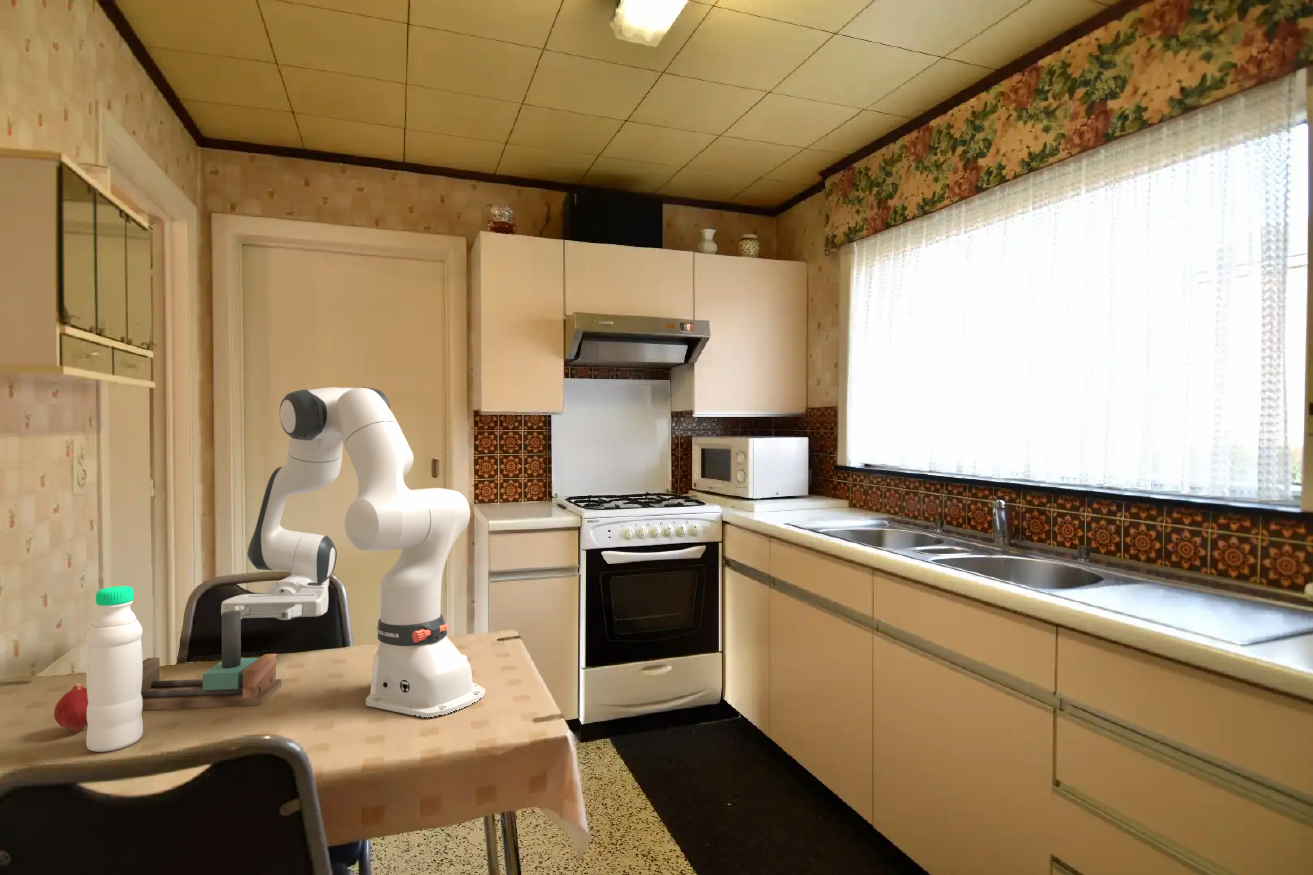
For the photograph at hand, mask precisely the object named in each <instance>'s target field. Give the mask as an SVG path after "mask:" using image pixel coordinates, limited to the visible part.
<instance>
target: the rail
mask: <svg viewBox="0 0 1313 875" xmlns="http://www.w3.org/2000/svg"><path fill="white" fill-rule="evenodd" d="M160 660H161V659H160V657H147V658H145V659H144V660H143V672H142V688H141V695H142V701H143V707H142V711H152V710H155V711H156V710H177V709H178V710H179V709H180V710H182V709H183V710H185V709H203V708H204V709H207V708H227V707H230V708H231V707H252V706H253V707H254V706H261V705H262V704H264V703H265V702H266V701H267V700H268V699H269V698H271V697H272V695H274V693H276V692H278V690H279V689H281V687H282V678H277V664H276V663H277V654H276V653H264V654H263V655H262V656H261V657H258V660H256V661H255V662H254V663H252V664H251V665H250V666H248V667H247V668H246V669H244V670H243V685H242V686H241V687H240V688H238V689H222V690H203V678H201V679H200V678H199V679H196V678H195V679H194V678H193V679H171V680H170V679H169V680H161V679H160V678H161V677H160V676H161V675H160V667H161V666H160V662H161V661H160Z"/></svg>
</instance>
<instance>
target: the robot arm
mask: <svg viewBox="0 0 1313 875" xmlns="http://www.w3.org/2000/svg"><path fill="white" fill-rule="evenodd" d="M279 419H280V424H281V426H282V430H283V431H284V432H285V433H286V434H287V436H289V440H288V447H287V449H288V450H287V457H286V460H285V463H284V464H283V466H280V467H279V466H278V467H277V468H275V470H274V471H273V473H272V474H271V475H270V476H269V479H268V481H267V484H266V488H265V491H264V494H263V498H262V501H261V506H260V509H259V513H258V516H257V522H256V525H255V529H254V531H253V533H252V537H251V538H250V541H249V545H248V549H247V558H248V560H249V562H250V563H251V565H253V567H255V569H257V570H262V571H279V572H286V573H290V575H289V576H287V577H285V578H283V579H280V580H278V581H277V582H275V583H273V584H271V586H269V588H267V590H266V592H265V593H244V594H243V593H242V594H239V595H235V596H233V597H229V598H226V599H225V600H223V601H222V602H221V604H220V605H221V606H220V607H221V608H220V613H221V614H220V615H221V616H222V613H224V612H227V611H236V610H237V611H241V620H243V619H254V618H255V619H258V618H275V619H277V620H280V621H287V620H289V621H290V620H292V619H295V618H300V617H302V618H304V617H305V618H306V617H320V616H323V615H324V614H326V613H327V612H328V610H329V609H328V608H329V586H330V578H331V577H332V575H333V573H334V570H335V567H336V564H337V558H338V556H337V555H338V552H337V548H336V546H335V543H334V542H333V540H332V539H331V538H330V537H329V536H328V535H323V534H317V533H312V532H303V531H296V530H290V529H286V528H284V527H282V525H281V520H282V518H283V513H284V509H285V506H286V502H287V499H288V497H291V496H296V495H301V494H307V493H312V492H316V491H320V490H321V489H324V488H326V487H328V486H330V485H331V484H332V483H334V482H335V481H336V480H337V478H339V475H340V471H341V467H342V462H343V446H344V447H345V450H346V452H347V454H348V457H349V459H350V462H351V464H352V467H353V469H354V471H355V474H356V478H357V481H358V490H357V494H356V498H355V500H354V501H353V502H352V503H351V504H350V505H349V507H348V509H347V511H346V514H345V517H344V518H345V519H344V531H345V533H346V536H347V538H348V540H349V542H350V543H351V544H352V545H353V546H354V547H355V548H356V549H357V550H360V551H368V552H369V551H370V552H389V551H396V550H401V549H402V551H401V553H400V554H399V557H398V559H397V561H396V562H395V563H394V565H393V566H392V567H391V568H390V569H388V570H387V571H386V572H385V574H384V575H383V576H382V579H381V582H380V591H379V592H380V595H379V597H380V605H379V606H380V607H379V608H380V617H379V619H378V621H377V627H376V632H377V640H378V641H379V644H378V648H377V650H376V654H375V655H374V658H373V663H372V664H373V665H372V674H371V684H370V693H369V695H368V696H367V697H366V699H365V703H364V704H365V707H370V708H377V709H380V710H385V711H391V712H394V713H395V712H396V713H401V714H405V715H409V716H414V715H416V716H415V717H419V716H421V717H420V718H424V717H425V719H429V718H428V717H432V716H437V717H439V716H438V715H442V716H445V715H448V713H449V714H451V713H450V712H452V713H454V712H453V711H455V710H457V711H459V709H460V710H462V709H464V707H465V708H467V707H469V706H471V705H473V704H475V703H477V702H478V701H479V699H480V698H481V699H483V697H484V696H485V695H486V689H485V688H484V687H483V686H482V685H479V684H477V683H475V682H473V674H472V672H473V671H472V667H471V664H470V662H469V660H468V657H467V656H466V654H463V653H461V651H459V649H458V648H457V646H455V644H454V643H453V641H451V640H450V639H449V637H448V636H447V635H448V630H450V629H451V627H448V626H450V625H451V623H449V622H448V623H446V622H445V619H444V615H443V614H442V613H441V611H442V610H441V609H442V607H441V606H442V605H441V604H442V603H441V602H442V582H443V575H444V574H443V573H444V570H445V566H446V562H447V559H448V557H449V554H450V552H451V550H452V548H453V546H454V544H455V543H456V541H457V540H458V538H459V537H460V536H461V534H462V533H463V532H465V531H466V529H467V527H468V525H469V523H470V519H471V509H470V504H469V502H468V500H467V498H466V496H464V495H463V494H462V493H461V492H460V491H459V490H458V491H457V490H453V489H449V488H443V487H442V488H441V487H431V488H430V487H429V488H418V489H410V488H409V487H408V486H407V484H406V483H405V480H404V479H405V478H404V477H405V476H406V475H407V474H408V473H409V472H410V471H411V469H412V467H413V464H414V460H415V459H414V458H415V457H414V453H413V451H412V449H411V447H410V444H409V443H408V441H407V439H406V437H405V434H404V432H403V431H402V428H401V427H400V424H399V422H398V420H397V419H396V417H395V414H394V413H393V411H392V410H391V405H390V402H389V399H388V398H387V397H386V394H385V393H384V392H382V390H380V389H377V388H373V387H366V386H363V387H336V386H333V387H329V386H328V387H320V388H313V389H308V390H307V389H306V388H305V389H299V390H295V391H292V392H289V393H287V394H286V395H285V396H284V397H283V399H282V400H281V402H280V406H279ZM484 694H485V695H484ZM481 699H480V700H481ZM474 702H475V703H474ZM472 703H473V704H472ZM466 706H467V707H466ZM461 708H462V709H461ZM455 712H456V711H455ZM444 714H445V715H444ZM426 717H427V718H426ZM432 718H433V717H432Z"/></svg>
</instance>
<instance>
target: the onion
mask: <svg viewBox="0 0 1313 875" xmlns="http://www.w3.org/2000/svg"><path fill="white" fill-rule="evenodd" d="M87 706H88V697H87V687H84V686H83V685H82V684H81V683H75V684H74V685H73V686H72V689H71V690H69V691H68V692H66V693H65V694H64V695H63V696H62V697H61V698H60V699H59V700H58V701H57V703H56V705H55V707H54V710H53V717H54V720H55V721H56V723H57V724H58V725H59V726H61V727H62V728H65V729H68V730H70V731H71V732H74V733H78V732H80V731H82V730H83V729H84V728H85V727H88V723H87Z"/></svg>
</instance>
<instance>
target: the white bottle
mask: <svg viewBox="0 0 1313 875" xmlns="http://www.w3.org/2000/svg"><path fill="white" fill-rule="evenodd" d="M134 594H135V592H134V589H133V587H131V586H128V585H118V586H117V585H116V586H110V587H105V588H101V589H99V590H97V592H96V594H95V604H96V607H97V608H98V609H99V613H98V614H97V616H96V617H95V619H94V620H93V624H92V625H91V626H90V628H89V630H88V632H87V634H86V638H85V639H86V640H85V641H86V644H87V652H86V674H85V675H86V681H85V682H86V689H87V697H88V706H87V723H88V725H87V727H86V728H87V729H86V740H85V742H86V748H87V749H88V750H90V751H91V752H94V753H95V752H97V753H106V752H112V751H117V750H120V749H123V748H127V747H130V746H131V745H134V744H135V743H136V742H137V741H139V740H140V739H141V738H142V736H143V732H144V727H143V726H144V725H143V724H144V723H143V717H142V714H143V713H142V712H143V710H142V707H143V701H142V695H141V688H142V672H143V661H144V660H143V647H142V645H143V643H142V636H143V631H144V629H143V627H142V625H141V623H140V621H139V620H138V619H137V616H136V614H135V613H134V611H132V609H131V605H132V603H133V600H134Z"/></svg>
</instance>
